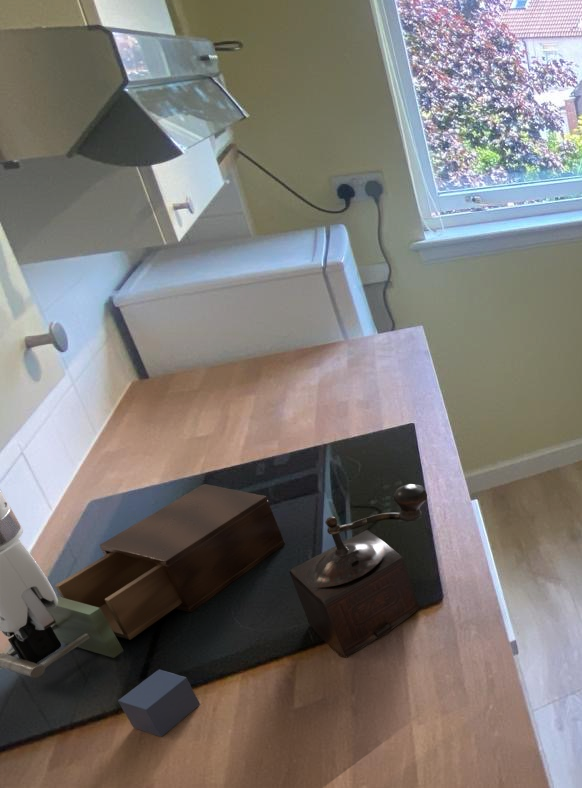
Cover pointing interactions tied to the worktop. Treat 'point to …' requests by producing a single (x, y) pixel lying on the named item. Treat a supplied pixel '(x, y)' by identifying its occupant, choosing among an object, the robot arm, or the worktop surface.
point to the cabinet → (203, 540)
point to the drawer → (104, 608)
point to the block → (159, 702)
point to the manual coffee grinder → (359, 581)
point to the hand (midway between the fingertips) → (42, 654)
